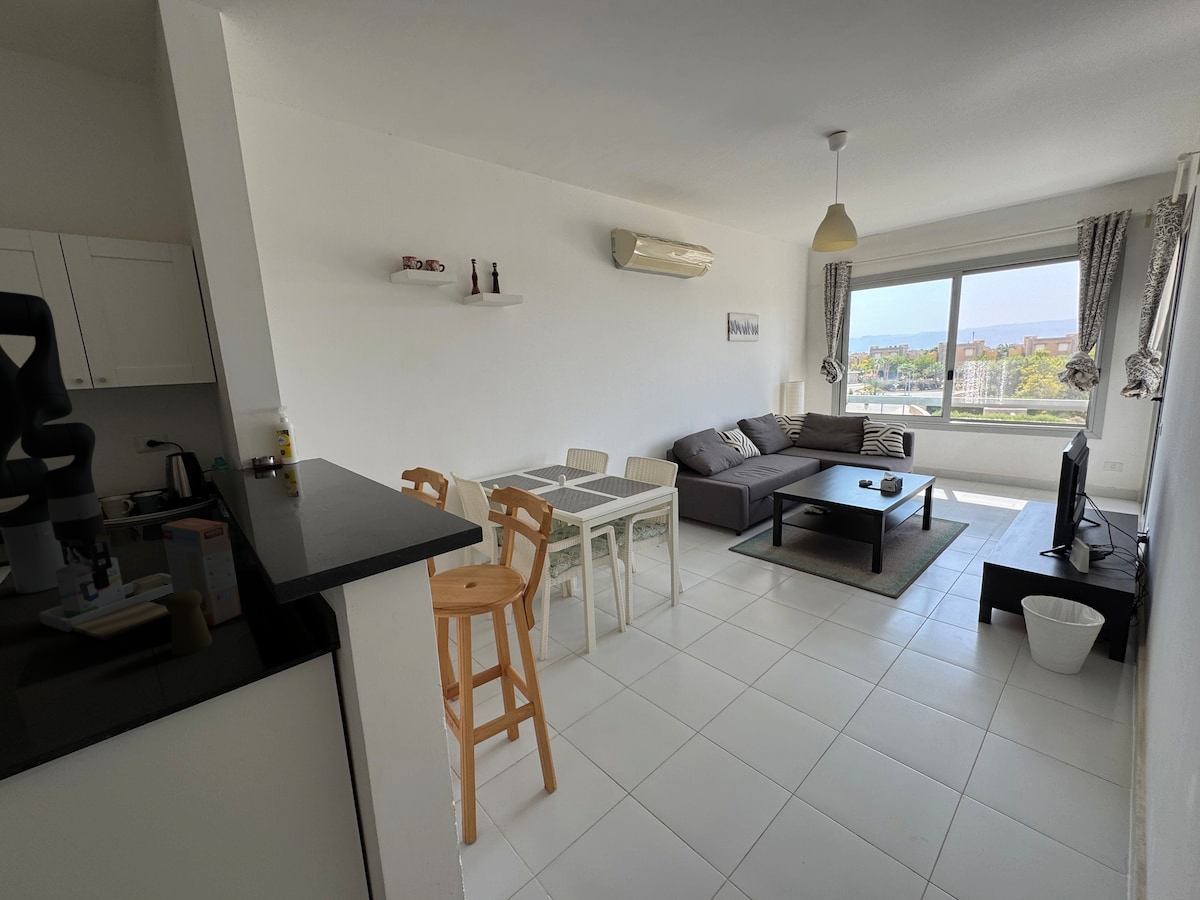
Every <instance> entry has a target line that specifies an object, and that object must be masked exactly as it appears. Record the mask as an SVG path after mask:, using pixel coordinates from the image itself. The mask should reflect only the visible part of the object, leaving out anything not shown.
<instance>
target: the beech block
mask: <svg viewBox="0 0 1200 900" xmlns="http://www.w3.org/2000/svg"><path fill="white" fill-rule="evenodd" d="M155 575H156V574H150V575H148V576H144V577H142V578H138V579H135V580H132V581H131V582H132V586H133V591H134V593H133V596H136V595H139V594H142V593H145V592H148V591H150V590H153V589H156V588H159V587H162V586H164V584H163V582H162V577H159V576H155Z"/></svg>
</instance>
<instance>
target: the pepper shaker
mask: <svg viewBox="0 0 1200 900" xmlns="http://www.w3.org/2000/svg"><path fill="white" fill-rule="evenodd" d="M201 602H202V596H201V594H200V592H198V591H197V590H185V591H181V592H178V593H175V594H172V595H169V596H168V597H167V599H166V601H165V606H166V609H167V610H168V612H170V613H171V625H170V626H171V655H173V656H176V657H178V656H179V657H180V656H187V655H191V654H194V653H196V652H199V651H202V650H204V649H206V648H207V647H209V646H210V645H211V644H213V639H212V638H213V637H212V635H211V633H210V630H209V627H208V624H206V622H205V619H204V616H203V614H202V611H201V609H200V604H201Z"/></svg>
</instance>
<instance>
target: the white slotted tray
mask: <svg viewBox="0 0 1200 900" xmlns="http://www.w3.org/2000/svg"><path fill="white" fill-rule="evenodd" d="M154 575H155V576H159V577H162V582H163V583H164V584H168V585H164V584H163V586H162V587H159V588H156V589H153V590H150V591H148V592H145V593H142V594H139V595H136V596H134V595H133V596H131V597H130V596H129V597H128V598H125V600H122V601H119V602H116V603H113V604H110V605H107V606H104V607H101V608H99V609H96V610H93V611H90V612H87V613H84V614H81V615H78V616H75V617H73V618H70V619H68V618H65V615H64V611H63V606H62V604H60V605H57V606H55V607H51V608H48V609H46V610H42V611H39V612H38V615H39V619H40V623H41V624H42V623H43V625H44V626H47V627H48V626H49V627H51V626H52V627H51V628H54V629H56V628H57V630H59V629H60V631H62V630H63V632H65V631H66V632H65V633H70V631H71V632H73V631H72V630H73V626H75V625H78V624H81V623H83V622H86V621H89V620H92V619H94V618H97V617H100V616H103V615H106V614H108V613H111V612H114V611H117V610H120V609H122V608H125V607H128V606H131V605H134V604H136V603H139V602H142V601H148V602H149V601H151V600H154V599H157V598H159V597H162V596H165V595H167V594H170V593H173V587H172V582H171V576H170V574H167V573H162V572H160V573H156V574H154ZM122 585H123V590H124V595H126V596H128V595H127V594H129V595H131V594H130V593H132V592H134V591H133V586H132V581H131V582H128V583H125V584H122ZM132 594H133V593H132Z"/></svg>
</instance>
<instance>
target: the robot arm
mask: <svg viewBox="0 0 1200 900" xmlns="http://www.w3.org/2000/svg"><path fill="white" fill-rule="evenodd" d="M1 335H3V336H4V335H6V336H21V337H33V338H34V342H35V343H34V344H35V345H34V348H33V350H32V352H31V353H30V355H29V356H28V358H27V359H26V360H25V361H24V362H23V363H22V365H21V367H20V366H18V364H16V363H15V361H13V360H12V358H11V357H10V356H9V354H7V352H6V351H5V349H4V348H3V346H2V345H1V344H0V500H6V499H12V498H17V497H22V496H23V497H24V496H28V497H27V499H26V500H25V501H23V503H21V504H20V505H18V506H16V507H14V508H12V509H9V510H7V511H5V512H3V513H1V514H0V530H1V534H2V539H3V542H4V545H5V546H4V547H5V551H6V554H7V558H8V563H9V566H10V570H11V575H12V578H13V579H12V580H13V583H14V586H15V591H16V594H21V595H24V594H32V593H33V594H34V593H39V592H43V591H47V590H51V589H54V588H57V587H58V583H57V578H56V574H55V572H56V571H57V570H58V569H60V568H64V567H67V566H70V565H73V564H77V563H80V562H82V564H83V565H84V566H88V568H89V569H90V571H91V573H92V578H93V582H94V587H95V589H98V590H99V589H103V588H106V587H108V586H109V585H110V583H109V579H108V574H107V570H108V569H109V568H112V563H111V559H110V557H111V556H110V551H109V548H108V547H109V546H108V543H107V542H106V541H104V540H103V541H101V542H100V541H98V539H97V536H98V535H101V534H103V533H104V532H105V531H106V526H105V522H104V516H103V513H102V508H101V503H100V500H99V498H98V496H97V493H96V488H95V484H94V480H93V474H92V472H93V471H92V464H93V455H94V451H95V446H96V434H95V431H94V429H93V428H92V427H91V426H90V425H88V424H86V423H84V422H77V421H75V422H63V423H52V424H45V423H48V422H51V421H55V420H59V419H62V418H66V417H68V416H69V415H71V414H72V413H73V405H72V401H71V399H70V396H69V393H68V389H67V387H66V384H65V382H64V378H63V374H62V369H61V362H60V354H59V346H58V341H57V335H56V327H55V322H54V317H53V313H52V310H51V308H50V306H49V305H48V303H47V301H46V300H45V299H44V298H43V297H41V296H38V295H34V294H33V295H32V294H28V293H20V292H12V291H11V292H9V291H0V336H1ZM19 439H20V446H21V447H20V448H21V450H22V452H23V453H24V454H26V455H27V456H29V457H24V458H22V457H21V458H14V459H7V458H8V456H9V453H10V451H11V449H12V447H13V446H14V445H15V444H16V443H17V442H18V440H19ZM72 456H73V457H74V458H73V459H72V461H71V462H69V464H66V465H64V466H61V467H57V468H54V469H50V470H49V467H48V465H47V463H46V462H45V461H44V460H45V459H47V460H48V459H54V458H64V457H72ZM99 563H100V564H101V565H99Z"/></svg>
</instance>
